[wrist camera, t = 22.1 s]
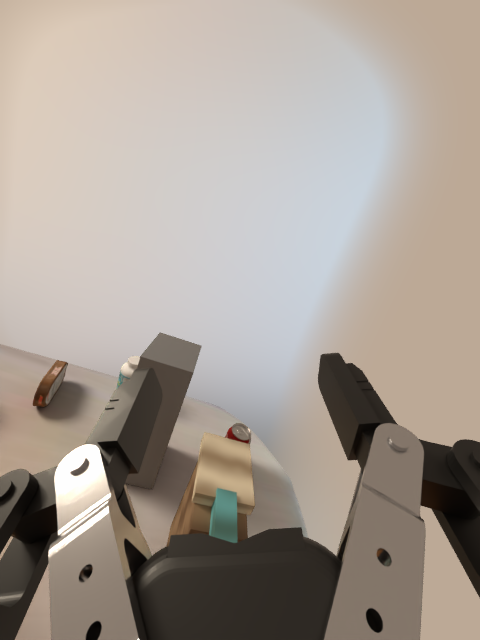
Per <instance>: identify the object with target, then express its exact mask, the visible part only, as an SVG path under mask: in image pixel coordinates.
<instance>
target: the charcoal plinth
mask: <svg viewBox="0 0 480 640" xmlns="http://www.w3.org/2000/svg"><path fill="white" fill-rule="evenodd" d="M200 349H201V346H200V345H197V344H194V343H191V342H188V341H185V340H182V339H179V338H176V337H172V336H169V335H166V334H163V333H159V334H158V336H157V337H156V338H155V339H154V341H153V342H152V343H151V344H150V345H149V347H148V348H147V349H146V350H145V352H144V353H143V354H142V355H141V356H140V360H139V363H138V367H137V369H141V368H153V369H154V371H155V373H156V376H157V378H158V381H159V383H160V386H161V388H162V394H163V397H162V403H161V406H160V409H159V412H158V415H157V418H156V421H155V424H154V428H153V431H152V434H151V437H150V440H149V443H148V446H147V449H146V452H145V455H144V458H143V461H142V465H141V468H140V471H139V473H137V474H128V476H127V479H126V482H125V484H130V485H134V486H139V487H143V488H148V489H152V488H153V485H154V482H155V480H156V477H157V474H158V471H159V468H160V465H161V463H162V460H163V457H164V454H165V451H166V448H167V446H168V443H169V440H170V437H171V434H172V431H173V429H174V426H175V423H176V420H177V417H178V415H179V412H180V409H181V406H182V403H183V400H184V398H185V395H186V392H187V389H188V386H189V383H190V381H191V378H192V375H193V372H194V369H195V365H196V362H197V359H198V355H199V352H200Z"/></svg>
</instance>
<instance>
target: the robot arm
mask: <svg viewBox="0 0 480 640" xmlns="http://www.w3.org/2000/svg"><path fill="white" fill-rule="evenodd" d="M318 384H319V388H320V391H321V394H322V396H323V399H324V401H325V404H326V406H327V409H328V411H329V414H330V416H331V419H332V421H333V424H334V426H335V429H336V431H337V434H338V436H339V439H340V441H341V444H342V447H343V449H344V452H345V454H346V456H347V459H348V460H358V463H359V465H360V467H361V470H360V473H359V477H358V481H357V485H356V488H355V492H354V496H353V499H352V503H351V507H350V511H349V514H348V518H347V521H346V524H345V527H344V531H343V534H342V537H341V541H340V544H339V548H338V552H337V556H335V555H334V554H333V553H332V552H331V551H329V550H328V549H327V548H326V547H324V546H322V545H321V544H319V543H318V542H316V541H313V540H311V539H309V538H306V537H303V534H302V529H301V528H284V529H268V530H266V531H264V532H261V533H259V534H257V535H254V536H252V537H249V538H247V539H245V540H242V541H240V542H237V543H233V542H229V541H226V540H223V539H219V538H216V537H213V536H210V535H206V534H203V533H198V534H181V535H171V536H170V542H169V546H167V547H165V548H163V549H161V550H160V551H158V552H157V553H155V554H154V555H153V556H152V555H151V552H150V550H149V547H148V545H147V543H146V540H145V539H144V537H143V535H142V533H141V530H140V527H139V524H138V521H137V518H136V515H135V512H134V508H133V505H132V502H131V499H130V496H129V493H128V489H127V486H126V484H125V482H126V479H127V476H128V474H137V473H139V471H140V468H141V465H142V461H143V458H144V455H145V452H146V449H147V446H148V443H149V440H150V437H151V434H152V431H153V428H154V424H155V421H156V418H157V415H158V412H159V409H160V406H161V403H162V397H163V394H162V388H161V386H160V383H159V381H158V378H157V376H156V373H155V371H154V369H153V368H141V369H135V370H134V372H133V373H132V375H131V377H130V379H129V381H124V382H123V383H122V384H121V385H120V386H119V387H118V388H117V389H116V390H115V391H114V393H113V395H112V397H111V399H110V402H108V404H107V406H106V408H105V410H104V411H103V413H102V415H101V416H100V418H99V420H98V422H97V424H96V425H95V427H94V429H93V431H92V433H91V434H90V436H89V438H88V440H87V441H86V443H85V445H84V446H82V447H79V448H77V449H75V450H74V451H72V452H71V453H70V454H68V455H67V456H66V457H65V458H64V459H63V461H62V462H61V463H60V465H58V466H56V467H53V468H51V469H48V470H45V471H43V472H40V473H37V474H35V475H31V474H30V473H29V472H28V471H27V470H25V469H17V470H14V471H11V472H9V473H7V474H5V475H3V476H2V477H0V554H1V552H2V550H3V549H4V547H5V545H6V543H7V542H8V540H9V538H10V536H12V537H14V538H13V539H12V541H11V543H10V545H9V546H8V548H7V550H6V552H5V553H4V555H3V557H2V559H1V560H0V640H15V637H16V635H17V633H18V631H19V628H20V626H21V624H22V622H23V619H24V617H25V615H26V613H27V610H28V608H29V606H30V603H31V601H32V599H33V597H34V594H35V592H36V590H37V588H38V585H39V583H40V581H41V579H42V576H43V574H44V572H45V570H46V567H47V565H48V563H49V589H50V618H51V640H420V629H421V610H422V592H423V591H422V590H423V573H424V554H425V553H424V552H425V523H424V520H423V519H421V517H420V505H421V506H425V507H428V508H431V509H432V510H433V512H434V514H435V516H436V518H437V520H438V522H439V523H440V525H441V527H442V529H443V531H444V532H445V534H446V536H447V538H448V540H449V542H450V544H451V546H452V547H453V549H454V551H455V553H456V554H457V557H458V558H459V560H460V562H461V564H462V566H463V568H464V569H465V572H466V573H467V575H468V577H469V579H470V581H471V582H472V584H473V586H474V588H475V590H476V592H477V594H478V595H479V597H480V442H477V441H473V440H459V441H457V442H456V443H455V444H454V445H453V447H449V446H445V445H440V444H435V443H431V442H427V441H423V440H420V439H418V438H417V437H416V436H415V435H414V434H413V433H412V432H410V431H409V430H407V429H406V428H404V427H402V426H399V425H398V424H397V423H396V422H395V420H394V419H393V417H392V416H391V415H390V413H389V411H388V410H387V409H386V407H385V405H384V404H383V402H382V401H381V399H380V398H379V396H378V394H377V393H376V391H374V389H373V387H372V385H371V384H370V383H369V382H368V379H367V378H366V376H365V375H364V373H363V372H362V370H360V369H359V368H357V367H356V366H355V365H354V364H353V363H348V364H346V363H345V362H344V360H343V358H342V356H341V355H340V354H339V353H330V354H322V355H321V358H320V367H319V374H318Z"/></svg>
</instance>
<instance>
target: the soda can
mask: <svg viewBox="0 0 480 640" xmlns="http://www.w3.org/2000/svg"><path fill="white" fill-rule="evenodd" d="M225 438H228V439H232V440H236V441H239V442H243V443H247V444H250V442H251V431H250V430H249V428H248V427H247V426H245V425H244V424H241V423H236V424H234V425H233V426H232V427H231V428H229V430H228V432H227V434H226V436H225Z"/></svg>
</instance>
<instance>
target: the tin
mask: <svg viewBox="0 0 480 640" xmlns="http://www.w3.org/2000/svg"><path fill="white" fill-rule="evenodd" d="M67 365H68V363H67V362H63V361H59V360H57V361H56V362H55V363H54V365H53V366H52V367H51V369H50V370H49V371H48V372H47V374H46V375H45V376H44V378H43V379H42V381H41V382H40V384H39V386H38V388H37V391H36V393H35V396H34V400H33V406H43V407H44V406H47V405H48V404H49V402H50V401H51V399H52V398H53V396H54V395H55V393H56V391H57V390H58V388H59V387H60V385H61V383H62V381H63V379H64V376H65V371H66V367H67Z"/></svg>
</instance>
